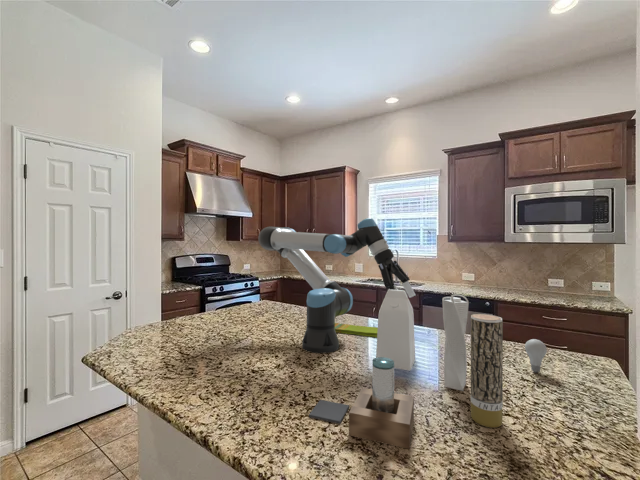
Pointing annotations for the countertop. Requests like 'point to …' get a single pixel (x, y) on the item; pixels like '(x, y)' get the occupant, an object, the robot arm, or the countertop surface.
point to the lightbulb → (535, 353)
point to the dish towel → (356, 330)
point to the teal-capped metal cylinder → (383, 385)
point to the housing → (382, 420)
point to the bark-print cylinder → (487, 369)
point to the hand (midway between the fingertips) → (407, 299)
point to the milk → (396, 330)
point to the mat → (329, 411)
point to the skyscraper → (455, 341)
